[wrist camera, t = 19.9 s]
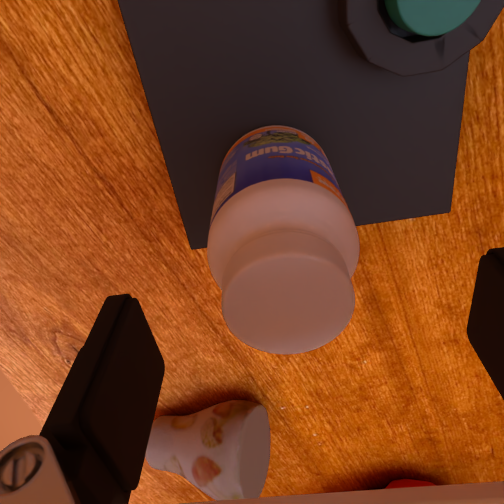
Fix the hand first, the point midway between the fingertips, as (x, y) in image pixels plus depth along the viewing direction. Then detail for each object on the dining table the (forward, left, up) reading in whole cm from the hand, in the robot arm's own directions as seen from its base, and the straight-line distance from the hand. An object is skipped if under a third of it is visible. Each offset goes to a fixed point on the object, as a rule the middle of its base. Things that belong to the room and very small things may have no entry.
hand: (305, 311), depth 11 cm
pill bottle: (0, 0, -10) cm, 10 cm away
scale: (-2, -3, -12) cm, 13 cm away
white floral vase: (+8, +21, -12) cm, 26 cm away
